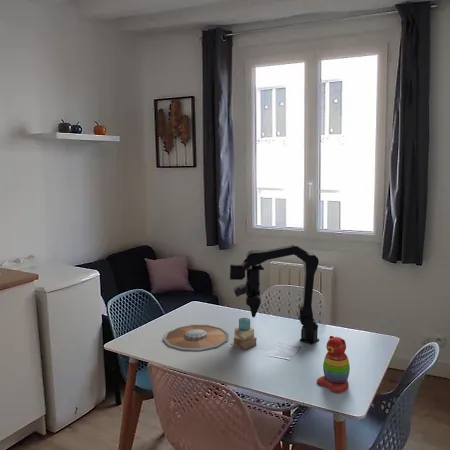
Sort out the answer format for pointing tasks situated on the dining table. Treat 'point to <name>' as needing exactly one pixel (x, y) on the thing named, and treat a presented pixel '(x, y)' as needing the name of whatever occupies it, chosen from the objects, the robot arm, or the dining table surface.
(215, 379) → the dining table surface
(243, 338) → the oak top block
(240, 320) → the teal cylinder
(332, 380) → the stacking bear
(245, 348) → the walnut base block
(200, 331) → the shield
